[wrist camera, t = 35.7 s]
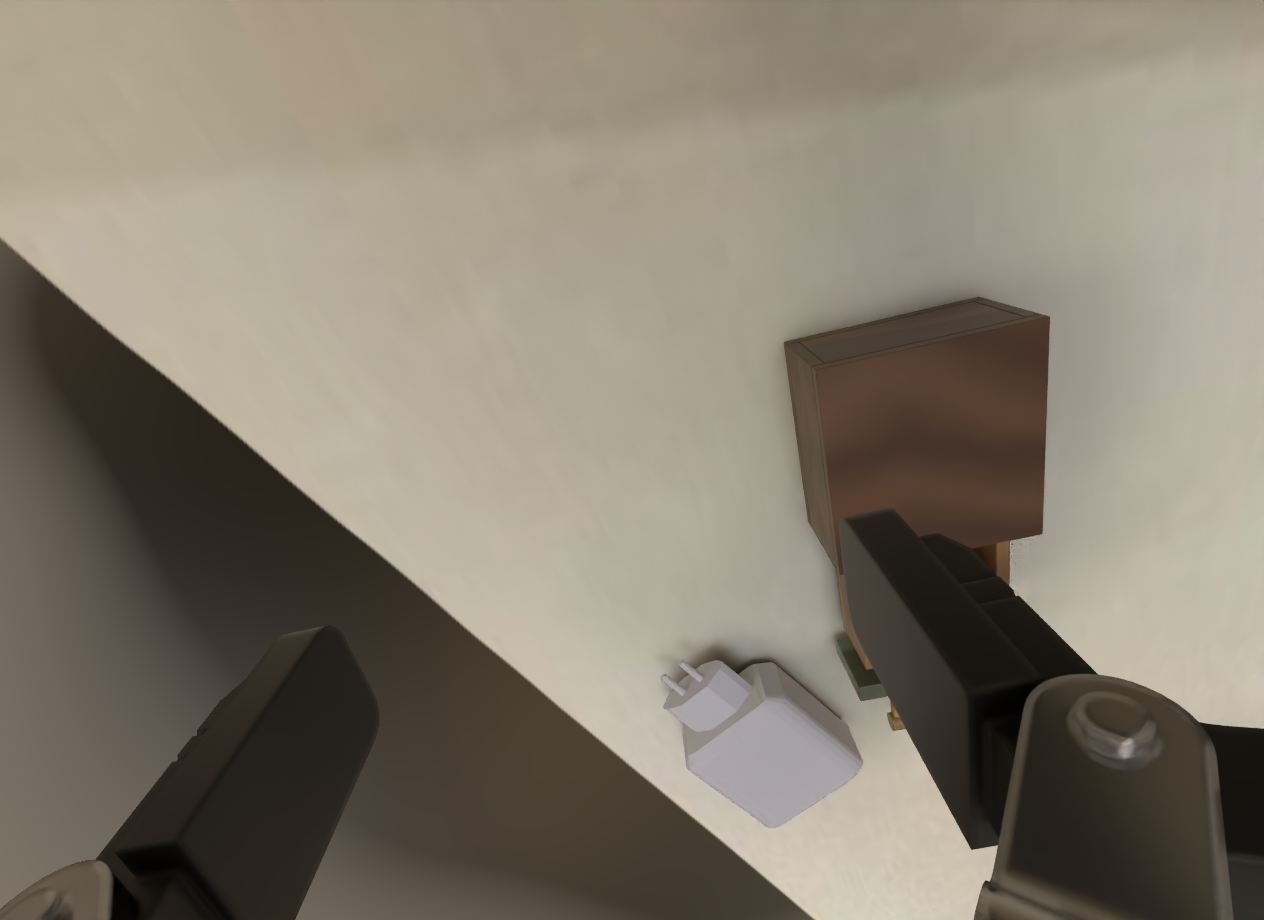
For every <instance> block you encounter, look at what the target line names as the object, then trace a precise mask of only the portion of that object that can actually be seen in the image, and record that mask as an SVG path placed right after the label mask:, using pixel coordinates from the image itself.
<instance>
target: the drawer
mask: <svg viewBox="0 0 1264 920" xmlns="http://www.w3.org/2000/svg"><path fill="white" fill-rule="evenodd" d="M972 550H973V551H974V552H975V553H976V554H977V555H978V556H979V557H980V558H981V559H982V560H983V561H984V562H985V563H986V564H987V565H988V566H989V567H990V568H991V569H992V570H993V571H994V573H995V575H996V576H1000V577H1001V578H1002V579H1003V580H1004V581H1005V582H1006V583H1007V584H1008V585H1009V580H1010V541H1006V542H1001V543H996V544H991V545H986V546H981V547H977V548H972ZM837 575H838V584H839V592H840V600H841V609H842V617H843V625H844V628H845V630H846V632H847V634H848V636H849V638H845V639H840V640H836V646H837V653H838V655H839V657H840V659H841V661H842V663H843V666H844V668H845V670H846V672H847V674H848V676H849V678H850V680H851V682H852V684H853V686H854V688H855V690H856V693H857V695H858V697H859V699H860V701H865V700H870V699H876V698H881V697H886V696H888V695H887V693H886V691H885V689H884V687H883V686H882V684H881V682H880V680H879V678H878V676H877V675H876V673H875V671H874V669H873V667H872V665H871V664H870V662H869V660H868V658H867V656H866V654H865V652H864V651H863V649H862V647H861V645H860V643H859V641H858V639H857V636H856V634H855V631H854V628H853V625H852V622H851V618H850V615H849V610H848V605H847V598H846V590H845V581H844V575H839V573H838V571H837ZM890 701H891V700H890ZM887 717H888V721H889V724H890V726H891V728H892V730H893V731H896V730H901V729H906V728H905V726H904V724H903V723H902V721H901V719H900V717H899V715H898V713H897V711H896V710H895V708H894V706H893V704H892V702H891V712H888V713H887Z"/></svg>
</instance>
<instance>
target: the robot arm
mask: <svg viewBox="0 0 1264 920" xmlns="http://www.w3.org/2000/svg"><path fill="white" fill-rule="evenodd" d="M839 538H840V546H841V555H842V564H843V572H844V581H845V590H846V598H847V605H848V610H849V615H850V618H851V622H852V625H853V628H854V631H855V634H856V636H857V639H858V641H859V643H860V645H861V647H862V649H863V651H864V652H865V654H866V656H867V658H868V660H869V662H870V664H871V665H872V667H873V669H874V671H875V673H876V675H877V676H878V678H879V680H880V682H881V684H882V686H883V687H884V689H885V691H886V693H887V695H888V697H889V699H890V700H891V702H892V704H893V706H894V708H895V710H896V711H897V713H898V715H899V717H900V719H901V721H902V723H903V724H904V726H905V728H906V730H907V732H908V734H909V735H910V737H911V739H912V741H913V743H914V745H915V747H916V748H917V750H918V752H919V754H920V756H921V758H922V759H923V761H924V763H925V765H926V767H927V769H928V770H929V772H930V774H931V776H932V778H933V780H934V782H935V783H936V785H937V787H938V789H939V791H940V793H941V794H942V796H943V798H944V800H945V802H946V804H947V806H948V807H949V809H950V811H951V813H952V815H953V817H954V818H955V820H956V822H957V824H958V826H959V828H960V829H961V831H962V833H963V835H964V837H965V839H966V841H967V842H968V844H969V846H970V848H971V850H973V849H979V848H985V847H990V846H996V845H998V849H997V854H996V859H995V864H994V869H993V874H992V877H991V880H990V882H988V881H985V882H984V884H983V886H982V889H981V892H980V895H979V899H978V903H977V907H976V911H975V916H974V920H1264V729H1260V728H1246V727H1232V726H1221V725H1213V724H1205V723H1200V722H1198V721H1197V720H1196V719H1195V718H1194V717H1193V716H1192V715H1191V714H1190V713H1189V712H1187V711H1186V710H1185V709H1183V708H1182V707H1181V706H1179V705H1178V704H1177V703H1175V702H1173V701H1172V700H1170V699H1168V698H1167V697H1165V696H1163V695H1162V694H1160V693H1157V692H1155V691H1153V690H1151V689H1149V688H1147V687H1144V686H1142V685H1139V684H1136V683H1133V682H1130V681H1127V680H1123V679H1119V678H1115V677H1110V676H1104V675H1098V674H1097V673H1096V672H1095V671H1094V670H1093V669H1092V668H1091V667H1090V666H1089V665H1088V664H1087V663H1086V662H1085V661H1084V660H1083V659H1082V658H1081V657H1080V656H1079V655H1078V654H1077V653H1076V652H1075V651H1074V650H1073V649H1072V648H1071V647H1070V646H1069V645H1068V644H1067V643H1066V642H1065V641H1064V640H1063V639H1062V638H1061V637H1060V636H1059V635H1058V634H1057V633H1056V632H1055V631H1054V630H1053V629H1052V628H1051V627H1050V626H1049V625H1048V624H1047V623H1046V622H1045V621H1044V620H1043V619H1042V618H1041V617H1040V616H1039V615H1038V614H1037V613H1036V612H1035V611H1034V610H1033V609H1032V608H1031V607H1030V606H1029V605H1028V604H1027V603H1026V602H1025V601H1024V600H1023V599H1022V598H1021V597H1020V596H1015V594H1014V590H1013V589H1012V588H1011V587H1010V586H1009V585H1008V584H1007V583H1006V582H1005V581H1004V580H1003V579H1002V578H1001V577H1000V576H996V575H995V573H994V571H993V570H992V569H991V568H990V567H989V566H988V565H987V564H986V563H985V562H984V561H983V560H982V559H981V558H980V557H979V556H978V555H977V554H976V553H975V552H974V551H973V550H972V549H971V548H969V547H967V546H965V545H963V544H961V543H959V542H956V541H954V540H952V539H950V538H948V537H946V536H944V535H942V534H940V533H934V534H929V535H924V536H920V537H918V535H917V534H916V533H915V532H914V531H913V530H912V529H911V528H910V526H909V525H908V524H907V523H906V522H905V521H904V520H903V519H902V517H901V516H900V515H899V514H898V513H897V512H896V511H895V510H894V509H892V508H887V509H882V510H877V511H872V512H868V513H863V514H858V515H854V516H849V517H844V518H841V519H840V521H839ZM378 727H379V708H378V703H377V700H376V697H375V695H374V693H373V691H372V689H371V687H370V685H369V683H368V681H367V679H366V677H365V675H364V673H363V671H362V669H361V668H360V666H359V664H358V662H357V660H356V658H355V656H354V654H353V652H352V650H351V648H350V646H349V644H348V642H347V640H346V639H345V637H344V635H343V634H342V632H341V631H340V630H339V629H338V628H336V627H334V626H331V625H328V626H323V627H318V628H313V629H309V630H304V631H299V632H294V633H290V634H285V635H283V636H280V637H279V638H278V639H277V640H276V641H275V642H274V643H273V645H272V646H271V647H270V648H269V650H268V651H267V652H266V654H265V655H264V656H263V658H262V659H261V660H260V661H259V663H258V664H257V665H256V667H255V668H254V669H253V671H252V672H251V673H250V675H249V676H248V677H247V678H246V679H245V680H244V681H243V682H242V683H241V684H239V685H238V686H237V687H236V688H235V689H234V690H232V691H231V692H230V693H229V694H228V695H227V696H226V697H224V698H223V699H222V700H221V701H220V702H219V703H218V705H217V706H216V707H215V708H214V710H213V711H212V712H211V713H210V715H209V716H208V717H207V718H206V720H205V721H204V722H203V724H202V725H201V726H200V727H199V729H198V730H197V732H198V734H197V736H193V737H192V738H191V739H190V740H189V741H188V743H187V744H186V745H185V746H184V748H183V749H182V750H181V752H180V753H179V754H178V755H177V756H178V760H177V761H176V762H172V763H171V764H170V766H169V767H168V768H167V769H166V771H165V772H164V773H163V775H162V776H161V777H160V778H159V780H158V781H157V782H156V783H155V785H154V786H153V787H152V788H151V790H150V791H149V792H148V793H147V795H146V796H145V797H144V799H143V800H142V801H141V802H140V804H139V805H138V806H137V807H136V809H135V810H134V811H133V813H132V814H131V815H130V816H129V818H128V819H127V820H126V822H125V823H124V824H123V825H122V827H121V828H120V829H119V830H118V832H117V833H116V834H115V835H114V837H113V838H112V839H111V841H110V842H109V843H108V844H107V846H106V847H105V848H104V850H103V851H102V852H101V853H100V855H99V856H98V857H97V859H96V860H86V861H82V862H77V863H74V864H71V865H68V866H66V867H64V868H61V869H59V870H57V871H55V872H53V873H51V874H49V875H47V876H46V877H44V878H42V879H40V880H39V881H37V882H36V883H34V884H33V885H31V886H29V887H28V888H26V889H25V890H24V891H22V892H21V893H20V894H19V895H17V896H16V897H14V898H13V899H12V900H10V901H9V902H8V903H7V904H6V905H4V906H3V907H2V908H1V909H0V920H295V919H296V916H297V914H298V912H299V910H300V907H301V905H302V902H303V900H304V898H305V896H306V894H307V891H308V889H309V887H310V885H311V882H312V880H313V878H314V876H315V873H316V871H317V869H318V867H319V864H320V862H321V860H322V858H323V856H324V853H325V851H326V849H327V846H328V844H329V842H330V840H331V838H332V835H333V833H334V831H335V829H336V826H337V824H338V822H339V820H340V817H341V815H342V813H343V811H344V808H345V806H346V804H347V802H348V799H349V797H350V795H351V793H352V790H353V788H354V786H355V784H356V781H357V779H358V777H359V774H360V772H361V770H362V768H363V766H364V764H365V761H366V759H367V757H368V755H369V752H370V750H371V748H372V746H373V743H374V741H375V739H376V736H377V732H378Z"/></svg>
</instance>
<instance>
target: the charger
mask: <svg viewBox="0 0 1264 920" xmlns="http://www.w3.org/2000/svg"><path fill="white" fill-rule="evenodd" d="M679 666H680V667H681V668H682V669H683V670H685V671H686V672H687V673H688V674H689V675H687V676H686V677H685V678H683V679H682V680H681V681H680V682H679V683H676V682H675V681H674V680H672V679H671V678H670V677H669V676H667V675H666V674H663V675H662V676H661V680H662V681H663V682H664V683H666V684H667V685H668V686H670V687H671V688H672V689H673V691H672V692H671V694H670V695H669V696H668V698H667V699H666V702H665V704H664V706H663V708H664V709H666V710H667V711H668V712H670V713H671V714H672V715H674V716H675V717H676V718H678V719H679V720H680V721H682V722H683V741H684V749H685V757H686V766H687V769H688V770H689V771H691V772H692V773H693V774H695V775H696V776H698V777H699V778H700V779H702V780H703V781H704V782H706V783H707V784H709V785H710V786H711V787H713V788H714V789H715V790H717V791H718V792H720V793H721V794H722V795H724V796H725V797H726V798H728V799H729V800H731V801H732V802H733V803H735V804H736V805H737V806H739V807H740V808H742V809H743V810H744V811H746V812H747V813H748V814H750V815H751V816H753V817H754V818H755V819H757V820H758V821H759V822H761V823H762V824H764V825H765V826H766V827H769V828H775V827H779V826H781V825H783V824H784V823H786V822H788V821H789V820H791V819H792V818H794V817H795V816H797V815H798V814H800V813H801V812H803V811H804V810H806V809H808V808H809V807H811V806H812V805H814V804H815V803H817V802H818V801H820V800H821V799H823V798H824V797H826V796H827V795H829V794H830V793H832V792H833V791H835V790H837V789H838V788H840V787H841V786H843V785H844V784H846V783H847V782H849V781H850V780H851V779H852V778H854V777H855V775H856V774H857V773H858V772H859V770H860V769H861V767H862V764H863V761H862V758H861V755H860V753H859V751H858V748H857V746H856V744H855V741H854V739H853V737H852V734H851V732H850V730H849V728H848V726H847V725H846V724H845V723H844V722H843V721H841V720H840V719H839V718H838V717H837V716H836V715H834V714H833V713H832V712H831V711H830V710H828V709H827V708H826V707H825V706H824V705H823V704H821V703H820V702H819V701H818V700H817V699H816V698H814V697H813V696H812V695H811V694H810V693H808V692H807V691H806V690H805V689H804V688H803V687H801V686H800V685H799V684H798V683H797V682H795V681H794V680H793V679H792V678H791V677H790V676H788V675H787V674H786V673H785V672H784V671H783V670H781V669H780V668H779V667H778V666H777V665H775V664H774V663H772V662H768V663H759V664H752V665H750V666H749V667H747V668H746V669H744V670H743V671H742V672H741V673H739V674H737V673H735V672H734V671H733V670H732V669H730V668H729V667H728V666H727V665H726V664H724V663H723V662H721V661H718V660H715V661H711V662H708V663H704V664H701V665H700V666H699V667H698V668H696V669H694V668H693V667H691V666H690V665H689V664H688V663H686V662H685V661H684V660H681V661H680V662H679Z"/></svg>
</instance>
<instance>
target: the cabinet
mask: <svg viewBox="0 0 1264 920" xmlns="http://www.w3.org/2000/svg"><path fill="white" fill-rule="evenodd" d="M1049 328H1050V317H1049V316H1046V315H1042V314H1039V313H1035V312H1031V311H1028V310H1024V309H1021V308H1017V307H1013V306H1010V305H1006V304H1003V303H999V302H995V301H992V300H988V299H984V298H980V297H977V298H972V299H968V300H964V301H959V302H955V303H951V304H946V305H942V306H938V307H934V308H929V309H925V310H921V311H916V312H912V313H908V314H903V315H899V316H895V317H891V318H886V319H882V320H878V321H873V322H869V323H865V324H861V325H856V326H852V327H848V328H843V329H839V330H835V331H830V332H826V333H822V334H818V335H813V336H809V337H805V338H800V339H796V340H792V341H787V342H784V348H785V355H786V362H787V370H788V377H789V384H790V392H791V399H792V406H793V414H794V421H795V428H796V435H797V443H798V450H799V457H800V465H801V472H802V479H803V487H804V494H805V501H806V509H807V516H808V522H809V524H810V525H811V527H812V529H813V530H814V532H815V534H816V536H817V537H818V539H819V541H820V542H821V544H822V546H823V547H824V549H825V551H826V553H827V554H828V556H829V558H830V559H831V561H832V563H833V564H834V566H835V568H836V570H837V571H838V573H839V575H844V572H843V564H842V555H841V546H840V538H839V521H840V519H841V518H844V517H849V516H854V515H858V514H863V513H868V512H872V511H877V510H882V509H887V508H892V509H894V510H895V511H896V512H897V513H898V514H899V515H900V516H901V517H902V519H903V520H904V521H905V522H906V523H907V524H908V525H909V526H910V528H911V529H912V530H913V531H914V532H915V533H916V534H917V535H918V537H920V536H924V535H929V534H934V533H940V534H942V535H944V536H946V537H948V538H950V539H952V540H954V541H956V542H959V543H961V544H963V545H965V546H967V547H969V548H971V549H972V548H977V547H981V546H986V545H991V544H996V543H1001V542H1006V541H1011V540H1016V539H1020V538H1025V537H1030V536H1035V535H1040V534H1042V532H1043V503H1044V474H1045V445H1046V415H1047V386H1048V357H1049Z"/></svg>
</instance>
